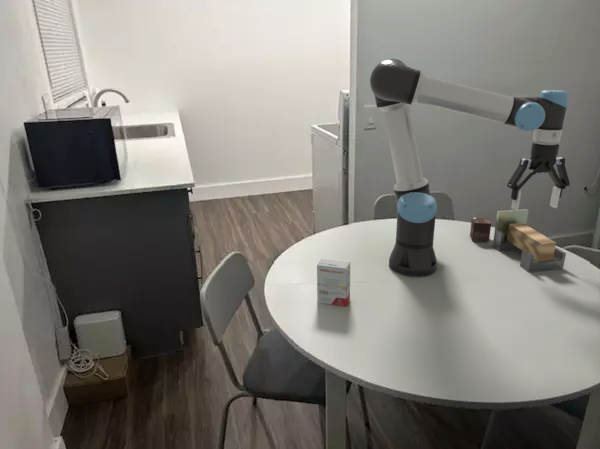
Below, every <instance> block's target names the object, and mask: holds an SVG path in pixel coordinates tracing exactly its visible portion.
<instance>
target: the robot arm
mask: <svg viewBox="0 0 600 449" xmlns="http://www.w3.org/2000/svg"><path fill="white" fill-rule="evenodd" d="M369 85H370V88H371V91H372V93H373V95H374V100H375V104H376V109H378V110H379V111H381V112H382V115H383V119H384V126H385V128H386V134H387V139H388V144H389V149H390V155H391V159H392V160H391V161H392V164H393V170H394V175H395V179H396V180H395V181H396V182H395V184H394V186H393V192H394V198H395V202H396V211H397V212H396V233H395V244H394V245H393V246H394V247H393V249H392V251H391V253H390V256H389V257H388V258H389V259H388V266H389V268H390V269H391V271H393V272H395V273H397V274H400V275H403V276H406V277H417V278H418V277H427V276H431V275H432V274H434V273H436V272H437V269H438V267H437V266H438V261H437V256H436V253H435V249H434V239H435V238H434V237H435V226H436V215H437V212H438V208H437V207H438V206H437V201H436V199H435V198H434V197H433V196H432V193H431V187H430V183H429V180H428V178H425V176H424V177H423V175H424V174H423V170H422V165H421V161H420V155H419V154H420V153H419V148H418V144H417V138H416V133H415V127H414V122H413V116H412V111H411V106H412V105H414V104H416V103H417V104H423V105H426V106H430V107H435V108H438V109H443V110H447V111H451V112H455V113H458V114H461V115H462V114H463V115H467V116H472V117H476V118H479V119H483V120H487V121H491V122H496V123H499V124H503V125H508V126H511V127H514V128H518V129H519V130H522V131H526V132H527V131H529V132H531V131H534V132H533V135H532V136H533V137H532V141H533V142H532V143H531V147H530V148H531V149H530V158H528V159H527V158H525V157H521V158H520V160H519V163H518V166H517V168H516V169H515V170H514V172H513V173H512V176H511V177H510V179H509V180H508V182H507V184H506V187H508V188H509V189H511V193H510V194H511V196H510V199H511V207H510V208H511V210H516V211H518V210H520V209H519V207H520V204H521V196H522V187H524V185H525V184H527V183H528V181H529V180H530V179H531V178H532V177H533V176H534V175H536V174H541V173H544V174H545V173H547V174H548V175H549V177H550V178H551V180H552V181H553V183H554V185H555V186H553V187H552V191H551V195H550V201H549V202H550V203H549V207H551V208H553V209H557V208H558V206H559V201H560V198H561V197H562V193H563V190H565V189H567V187H569V186H570V185H571V184H570V180H569V176H568V171H567V168H566V158H565V157H561V156H558V154H559V149H560V145H559V143H560V142H561V140H562V139H561V138H562V133H563V127H564V124H565V123H564V122H565V118H566V113H567V109H568V102H569V93H568V92H567V91H565V90H560V89H559V90H557V89H546V90H545V89H544V90H541V92H540V95H539V96H536V97H531V96H530V97H529V96H525V97H524V96H510V95H506V94H501V93H498V92H495V91H489V90H485V89H482V88H477V87H473V86H469V85H466V84H461V83H456V82H453V81H448V80H444V79H439V78H436V77H432V76H427V75H425V74H424V71H422V70H419V69H415V68H412V67H410V66H407V65H406V63H404V62H403V61H402V60H399V59H396V58H386V59H384V60H381V61H380V62H379V63H378V64H377V65H376V66H375V67H374V68H373V70H372V71H371V73H370V77H369ZM555 165H556V168H555ZM556 169H557V171H556ZM520 189H521V190H520Z"/></svg>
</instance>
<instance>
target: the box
mask: <svg viewBox="0 0 600 449" xmlns="http://www.w3.org/2000/svg"><path fill="white" fill-rule="evenodd" d="M491 226H492V222H491V220H490V219H489V217H487V218H486V217H471V223H470V230H469V236H470V239H471V242H481V243H482V242H483V243H484V242H485V243H489V242H490V237H491V236H490V234H491V228H492V227H491Z"/></svg>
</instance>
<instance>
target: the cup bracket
mask: <svg viewBox="0 0 600 449" xmlns="http://www.w3.org/2000/svg"><path fill="white" fill-rule="evenodd" d="M528 215H529V209H527V208H523V209H522V208H521V209H518V211H516V210H514V209H509V210H497V212H496V219H495V226H494V234H493V241H492V247H493V248H494V249H495V250H497V251H498V252H506V251H507V252H508V251H519V250H521V249H519V248H518V247H517V246H515V245H514V244H512V243H511V242H509V241H508V240H507V238H508V231H509V224H517V223H524V224H525V225H527V224H528V223H527V222H528ZM521 251H522V250H521Z"/></svg>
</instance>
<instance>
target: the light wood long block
mask: <svg viewBox="0 0 600 449" xmlns="http://www.w3.org/2000/svg"><path fill="white" fill-rule="evenodd" d="M507 240H508V241H509V242H511V243H512V244H514V245H515V246H517V247H518V248H519V249H521V251H522V250H526V251H527V252H529V253H530V254H532V255H533V256H534V259H535V260H537V261H550V260H553V257H554V252H555V248H556V247H557V242H556V241H554V240H552V239H551V238H549V237H547V236H546V235H544V234H543V233H541V232H539V231H538V230H535V229H534V228H532V227H530V226H528V225H527V224H526V225H525V224H524V223H517V224H509V231H508V238H507Z"/></svg>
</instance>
